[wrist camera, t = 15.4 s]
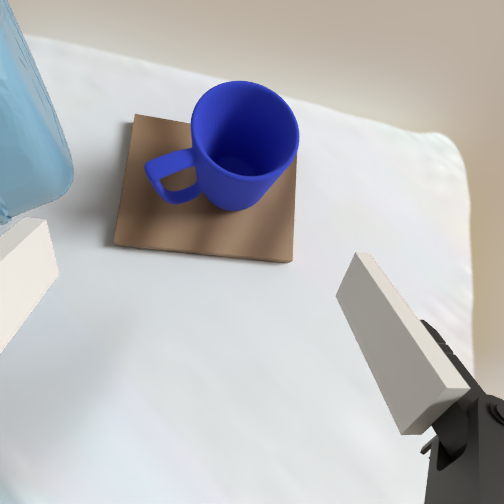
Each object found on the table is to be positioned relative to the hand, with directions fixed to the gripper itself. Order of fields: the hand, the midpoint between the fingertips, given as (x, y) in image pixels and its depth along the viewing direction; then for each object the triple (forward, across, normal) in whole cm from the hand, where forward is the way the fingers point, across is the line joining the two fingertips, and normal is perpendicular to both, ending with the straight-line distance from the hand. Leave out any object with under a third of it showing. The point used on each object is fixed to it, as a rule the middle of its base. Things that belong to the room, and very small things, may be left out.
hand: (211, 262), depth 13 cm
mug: (+19, 0, -4) cm, 19 cm away
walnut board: (+20, 0, -5) cm, 20 cm away
